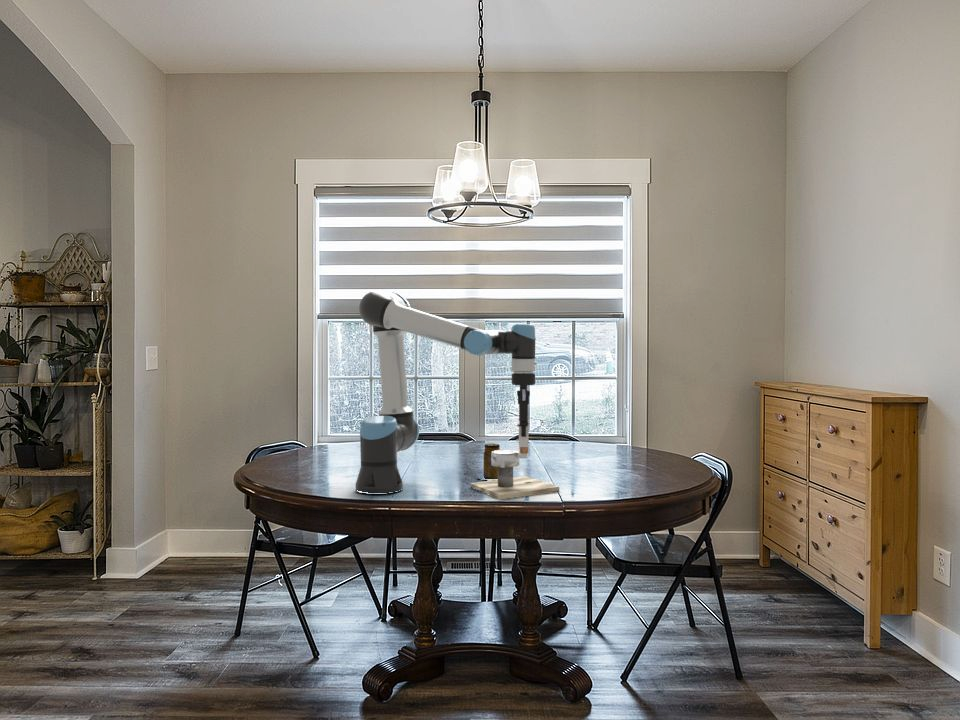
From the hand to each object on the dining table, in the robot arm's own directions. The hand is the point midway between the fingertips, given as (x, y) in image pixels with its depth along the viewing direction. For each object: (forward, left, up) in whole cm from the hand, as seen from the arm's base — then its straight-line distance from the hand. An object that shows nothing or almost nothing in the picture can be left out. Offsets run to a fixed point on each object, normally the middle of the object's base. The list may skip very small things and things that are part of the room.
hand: (523, 445), depth 218 cm
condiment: (-22, +1, -15) cm, 26 cm away
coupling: (-3, -3, -6) cm, 8 cm away
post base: (-3, -1, -15) cm, 15 cm away
